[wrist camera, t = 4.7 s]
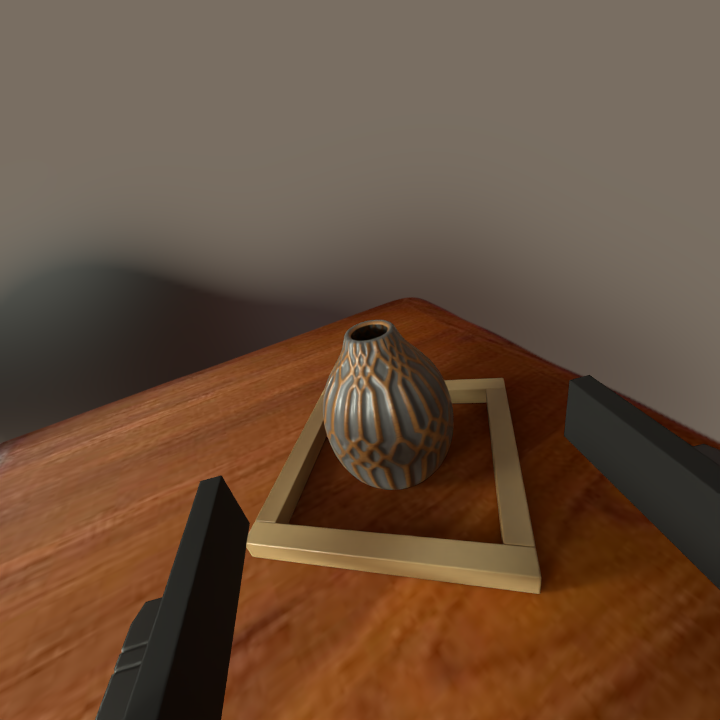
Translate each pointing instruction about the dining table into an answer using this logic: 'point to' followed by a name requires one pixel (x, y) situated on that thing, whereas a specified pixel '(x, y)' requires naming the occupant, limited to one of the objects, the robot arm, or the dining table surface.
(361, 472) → the vase
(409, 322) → the dining table surface
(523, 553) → the oak frame
